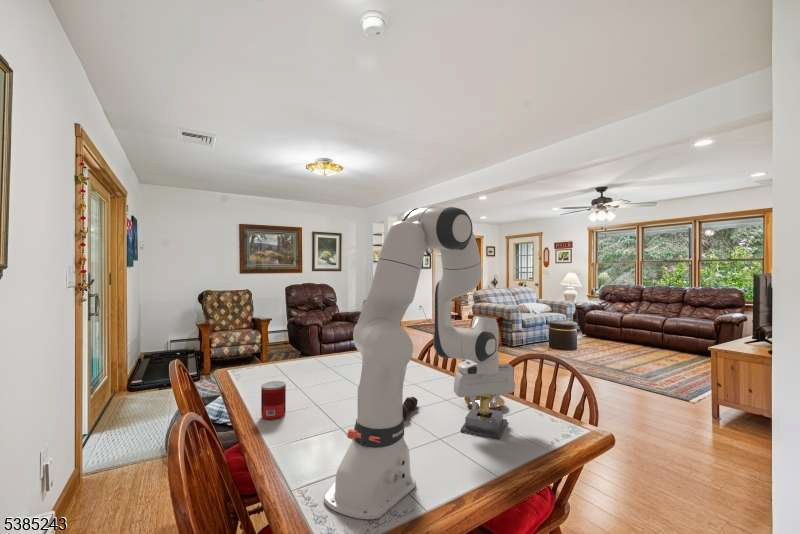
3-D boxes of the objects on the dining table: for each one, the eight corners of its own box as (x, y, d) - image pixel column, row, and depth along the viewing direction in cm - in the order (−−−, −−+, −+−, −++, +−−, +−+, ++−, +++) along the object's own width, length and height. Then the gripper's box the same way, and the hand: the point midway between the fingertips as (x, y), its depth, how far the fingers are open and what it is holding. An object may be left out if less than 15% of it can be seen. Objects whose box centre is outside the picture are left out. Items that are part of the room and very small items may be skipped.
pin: (491, 429, 117) (491, 395, 117) (479, 429, 117) (479, 394, 117) (489, 424, 121) (489, 390, 121) (477, 424, 121) (477, 390, 121)
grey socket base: (499, 439, 110) (499, 426, 110) (460, 431, 115) (460, 419, 115) (507, 421, 123) (507, 409, 123) (471, 415, 128) (471, 404, 128)
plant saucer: (513, 411, 132) (513, 404, 132) (477, 416, 127) (477, 409, 127) (489, 397, 146) (489, 391, 146) (457, 402, 141) (457, 395, 141)
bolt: (415, 410, 137) (401, 425, 123) (404, 402, 138) (389, 416, 124) (423, 398, 136) (410, 411, 122) (412, 390, 138) (398, 402, 124)
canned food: (289, 415, 127) (289, 384, 127) (268, 422, 121) (268, 389, 121) (278, 409, 132) (278, 379, 132) (257, 416, 127) (257, 384, 127)
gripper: (508, 361, 124) (508, 401, 124) (451, 364, 119) (451, 407, 119) (518, 365, 118) (518, 408, 118) (459, 369, 113) (459, 414, 113)
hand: (484, 407), depth 119 cm, fingers open, 5 cm apart
